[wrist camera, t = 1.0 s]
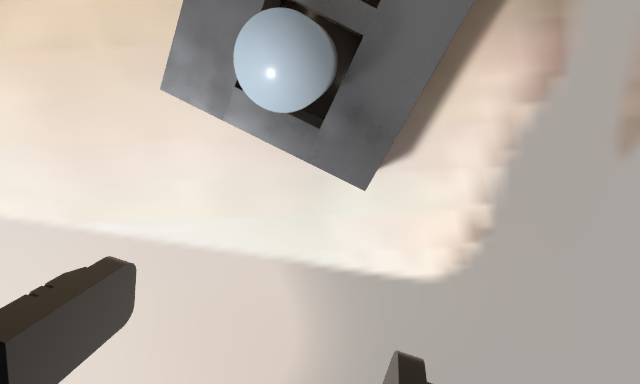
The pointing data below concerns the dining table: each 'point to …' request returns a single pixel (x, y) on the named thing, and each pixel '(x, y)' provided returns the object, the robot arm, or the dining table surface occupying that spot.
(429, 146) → the dining table surface
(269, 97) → the button blue
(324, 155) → the panel
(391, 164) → the dining table surface
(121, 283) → the robot arm
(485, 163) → the dining table surface
